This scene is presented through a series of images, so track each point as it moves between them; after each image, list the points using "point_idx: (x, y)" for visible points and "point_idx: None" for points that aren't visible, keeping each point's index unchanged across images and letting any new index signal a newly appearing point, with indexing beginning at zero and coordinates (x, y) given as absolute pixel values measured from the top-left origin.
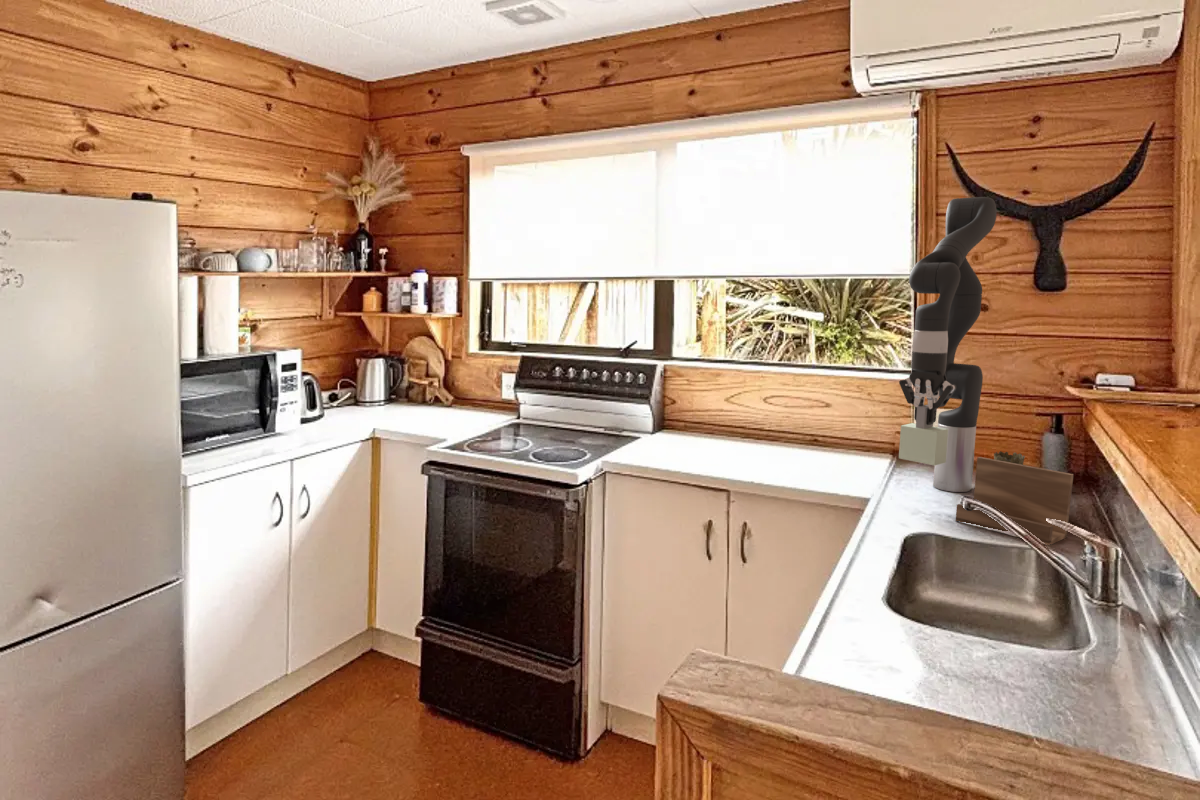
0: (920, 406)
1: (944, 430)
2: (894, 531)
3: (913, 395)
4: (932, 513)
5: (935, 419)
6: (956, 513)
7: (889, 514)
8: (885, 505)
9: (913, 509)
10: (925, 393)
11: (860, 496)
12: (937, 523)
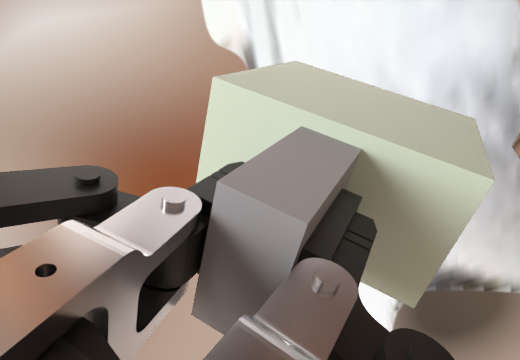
0: (208, 302)
1: (463, 227)
2: (367, 286)
3: (32, 217)
4: (433, 95)
5: (373, 239)
6: (517, 153)
7: None
8: None
9: (375, 86)
10: (105, 297)
11: (228, 44)
12: None
